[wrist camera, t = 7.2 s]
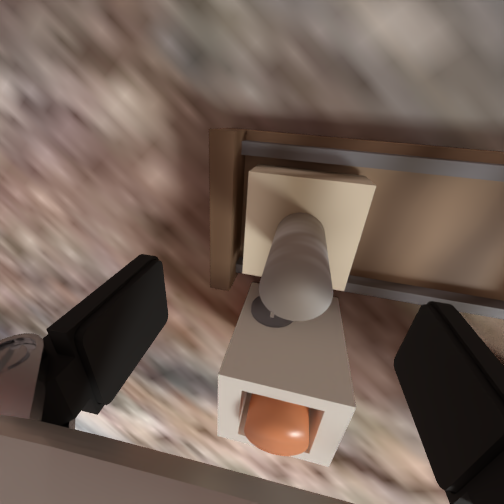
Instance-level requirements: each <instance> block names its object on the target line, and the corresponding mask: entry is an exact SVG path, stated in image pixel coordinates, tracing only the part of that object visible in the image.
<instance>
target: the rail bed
mask: <svg viewBox="0 0 504 504" xmlns="http://www.w3.org/2000/svg"><path fill="white" fill-rule="evenodd" d="M258 164H261V165H271V166H280V167H289V168H298V169H308V170H317V171H326V172H335V173H345V174H354V175H363V176H366V177H367V178H368V179H370V180H371V181H372V182H373V183H374V184H375V185H376V189H375V192H374V195H373V199H372V202H371V205H370V208H369V212H368V215H367V218H366V221H365V225H364V228H363V231H362V234H361V238H360V241H359V244H358V247H357V251H356V254H355V257H354V260H353V264H352V267H351V270H350V274H349V277H348V280H347V283H346V287H345V290H344V291H345V292H351V293H357V294H362V295H368V296H374V297H379V298H385V299H391V300H396V301H402V302H408V303H413V304H419V305H423V304H427V303H428V302H429V301H435V302H441V303H447V304H451V305H453V306H454V307H455V308H456V309H457V311H459V312H464V313H470V314H476V315H481V316H487V317H493V318H498V319H504V152H499V151H488V150H476V149H465V148H453V147H442V146H431V145H419V144H408V143H396V142H385V141H373V140H362V139H350V138H339V137H328V136H316V135H305V134H293V133H282V132H270V131H259V130H247V129H236V128H220V129H209V184H210V287H211V288H216V289H221V290H226V291H229V290H230V288H231V286H232V284H233V282H234V280H235V278H236V276H237V274H238V273H242V270H243V254H244V238H245V223H246V207H247V191H248V175H249V171H250V170H251V169H253V168H254V167H255V166H256V165H258Z"/></svg>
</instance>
